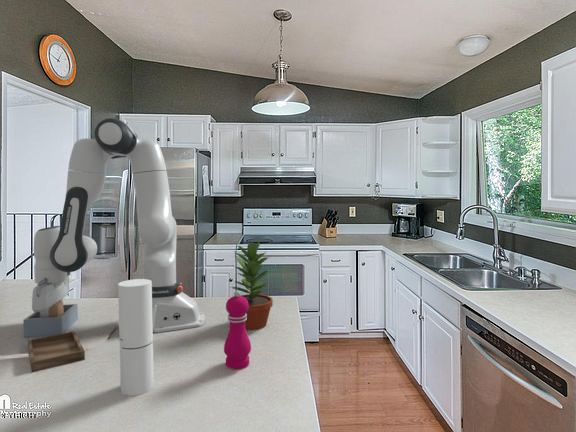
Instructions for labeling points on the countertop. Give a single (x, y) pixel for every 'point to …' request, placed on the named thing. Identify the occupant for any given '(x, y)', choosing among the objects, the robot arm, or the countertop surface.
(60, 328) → the blue-grey storage bin
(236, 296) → the pepper mill
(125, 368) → the cylindrical container
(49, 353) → the tray
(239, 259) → the potted plant
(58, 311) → the block
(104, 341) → the countertop surface
